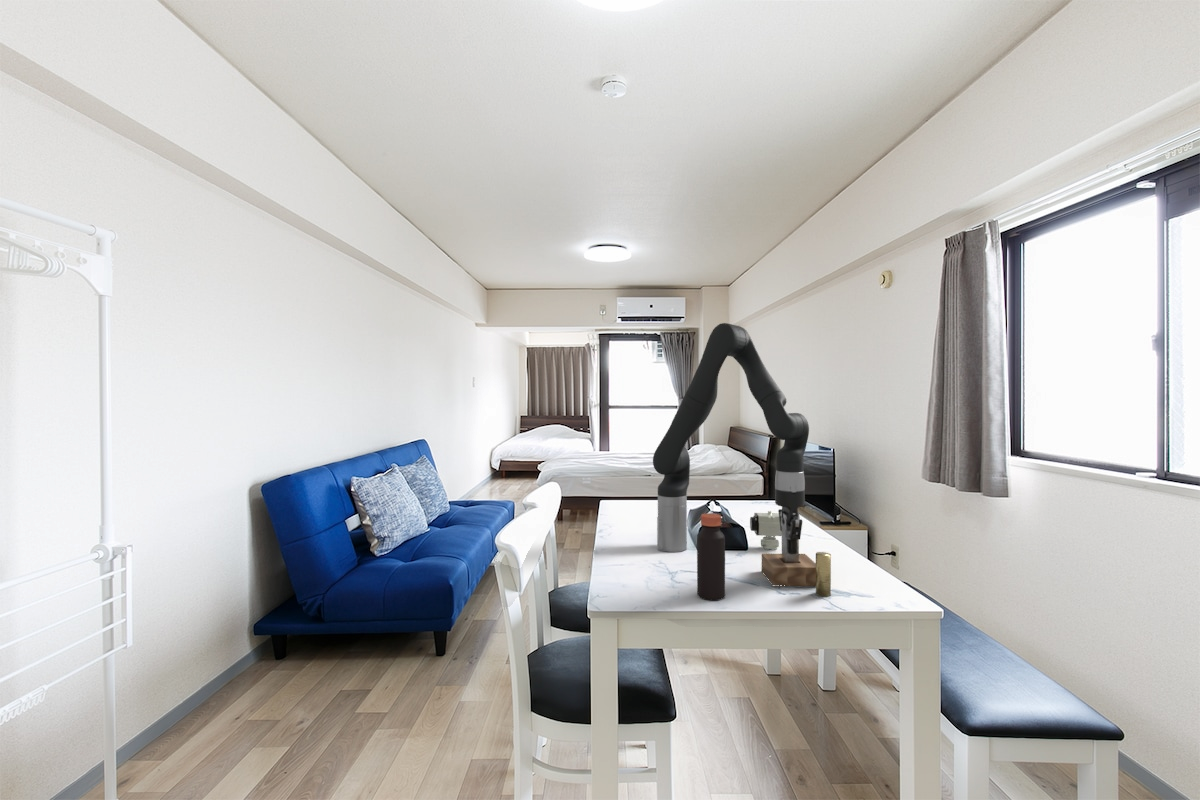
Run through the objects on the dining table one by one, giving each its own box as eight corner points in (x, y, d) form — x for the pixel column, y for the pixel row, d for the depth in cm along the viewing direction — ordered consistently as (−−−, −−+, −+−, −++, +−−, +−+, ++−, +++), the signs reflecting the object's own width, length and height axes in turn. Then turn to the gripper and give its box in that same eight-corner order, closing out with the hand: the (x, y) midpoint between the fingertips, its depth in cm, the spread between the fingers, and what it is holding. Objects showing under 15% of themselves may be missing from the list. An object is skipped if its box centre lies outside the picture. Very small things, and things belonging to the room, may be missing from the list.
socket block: (773, 586, 145) (773, 567, 144) (761, 571, 157) (761, 553, 156) (820, 586, 144) (820, 567, 144) (805, 571, 156) (805, 553, 156)
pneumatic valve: (749, 545, 182) (749, 509, 181) (787, 547, 180) (787, 509, 180) (752, 550, 176) (752, 512, 176) (790, 552, 175) (790, 513, 174)
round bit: (818, 596, 137) (818, 556, 137) (813, 591, 141) (813, 551, 141) (832, 596, 137) (833, 556, 137) (827, 591, 141) (827, 552, 141)
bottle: (691, 595, 139) (691, 514, 139) (709, 588, 143) (709, 511, 143) (712, 603, 134) (712, 520, 133) (730, 596, 138) (730, 515, 137)
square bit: (785, 563, 149) (785, 525, 148) (781, 559, 152) (781, 522, 152) (798, 563, 148) (798, 525, 148) (794, 559, 152) (794, 522, 152)
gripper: (768, 483, 157) (768, 544, 157) (783, 492, 143) (783, 559, 143) (795, 483, 157) (796, 544, 157) (812, 492, 143) (813, 559, 143)
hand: (789, 551), depth 150 cm, fingers closed on square bit, 3 cm apart
